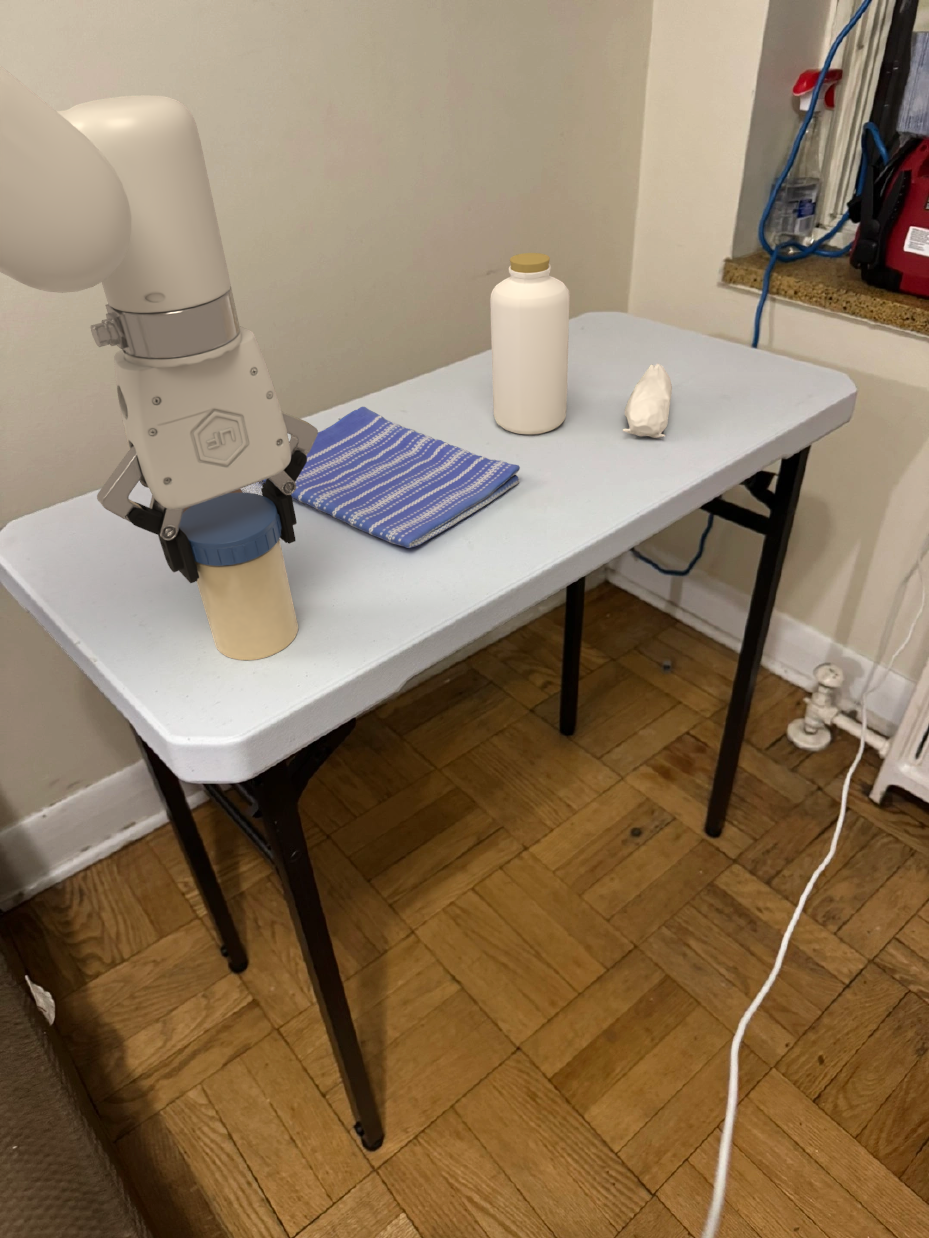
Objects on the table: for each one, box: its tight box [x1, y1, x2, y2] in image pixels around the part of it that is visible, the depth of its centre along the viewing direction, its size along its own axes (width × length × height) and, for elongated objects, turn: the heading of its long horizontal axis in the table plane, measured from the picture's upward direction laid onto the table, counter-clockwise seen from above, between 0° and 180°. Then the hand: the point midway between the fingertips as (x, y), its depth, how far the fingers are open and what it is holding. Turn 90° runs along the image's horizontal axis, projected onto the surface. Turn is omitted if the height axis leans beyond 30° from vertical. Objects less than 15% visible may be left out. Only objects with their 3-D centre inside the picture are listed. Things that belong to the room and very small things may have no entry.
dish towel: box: [261, 406, 521, 549], centre depth 89 cm, size 17×24×3 cm
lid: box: [179, 491, 282, 566], centre depth 65 cm, size 7×7×2 cm
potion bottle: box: [489, 252, 571, 435], centre depth 94 cm, size 8×8×18 cm
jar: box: [195, 538, 299, 661], centre depth 68 cm, size 7×7×11 cm
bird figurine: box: [622, 363, 673, 439], centre depth 96 cm, size 5×7×10 cm
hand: (236, 553), depth 66 cm, fingers closed on lid, 7 cm apart
